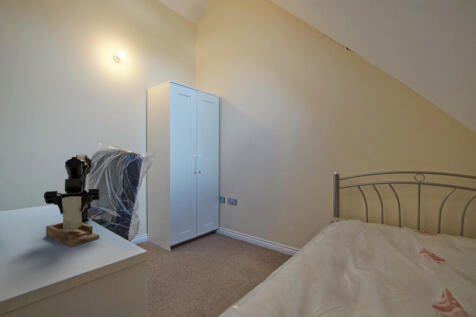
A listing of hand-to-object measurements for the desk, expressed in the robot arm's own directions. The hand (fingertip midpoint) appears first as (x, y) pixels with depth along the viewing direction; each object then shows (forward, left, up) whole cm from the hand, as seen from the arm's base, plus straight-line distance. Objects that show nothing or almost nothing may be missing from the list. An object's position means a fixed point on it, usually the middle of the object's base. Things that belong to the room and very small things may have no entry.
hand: (71, 212), depth 87 cm
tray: (-1, -1, -10) cm, 10 cm away
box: (-1, -1, -7) cm, 7 cm away
